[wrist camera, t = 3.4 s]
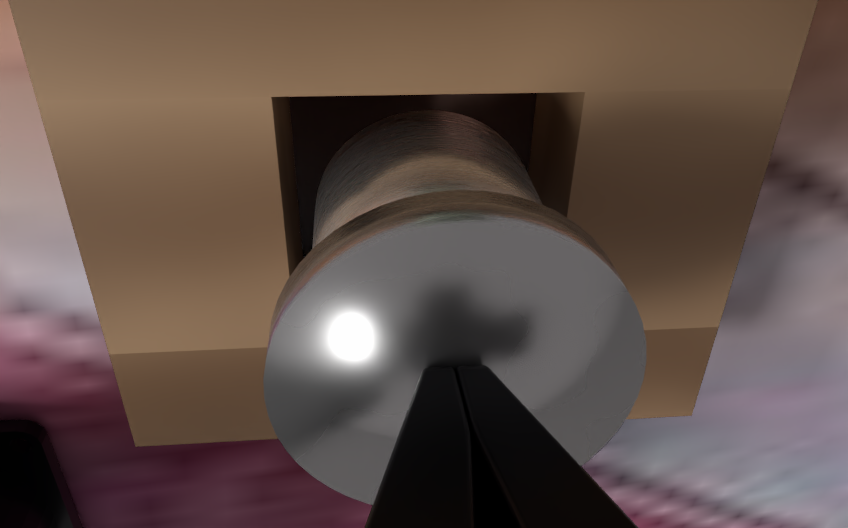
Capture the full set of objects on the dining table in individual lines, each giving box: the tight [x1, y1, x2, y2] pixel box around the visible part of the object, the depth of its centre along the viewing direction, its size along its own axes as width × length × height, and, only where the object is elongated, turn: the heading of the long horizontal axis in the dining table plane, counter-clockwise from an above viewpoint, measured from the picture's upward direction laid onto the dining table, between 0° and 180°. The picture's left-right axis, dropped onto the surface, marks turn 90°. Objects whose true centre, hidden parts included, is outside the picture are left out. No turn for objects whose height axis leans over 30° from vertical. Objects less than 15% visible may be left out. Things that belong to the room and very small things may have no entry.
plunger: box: [263, 110, 646, 505], centre depth 11 cm, size 5×5×5 cm
